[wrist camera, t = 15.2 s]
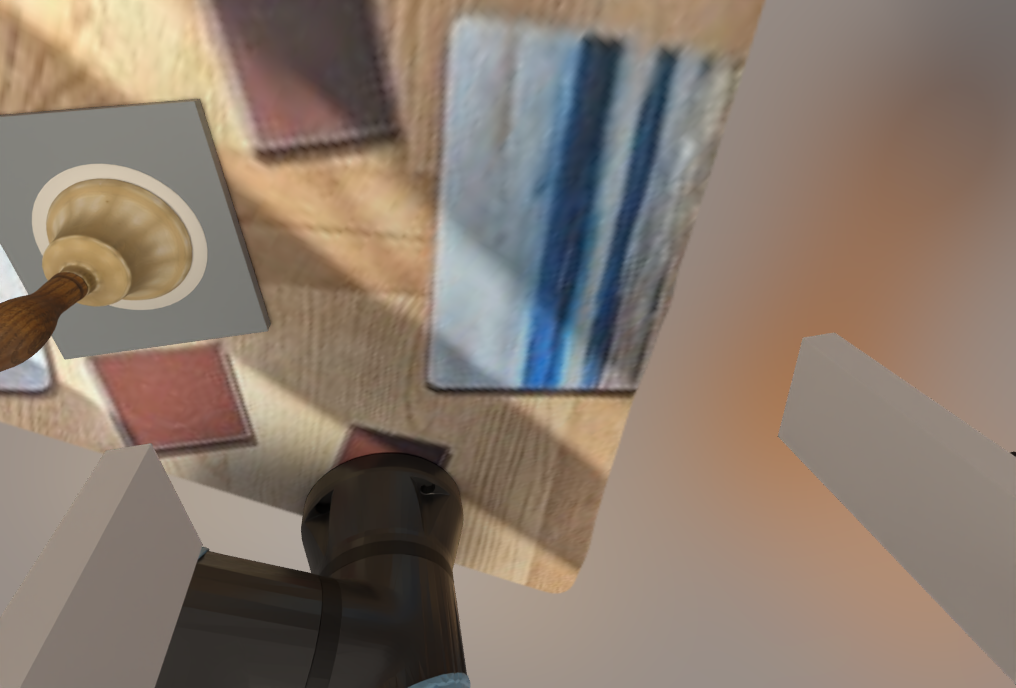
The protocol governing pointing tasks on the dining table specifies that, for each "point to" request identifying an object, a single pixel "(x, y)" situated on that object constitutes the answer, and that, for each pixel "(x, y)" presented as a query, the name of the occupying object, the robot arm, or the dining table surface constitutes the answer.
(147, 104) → the board
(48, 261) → the hand bell
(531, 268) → the dining table surface
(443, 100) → the dining table surface
